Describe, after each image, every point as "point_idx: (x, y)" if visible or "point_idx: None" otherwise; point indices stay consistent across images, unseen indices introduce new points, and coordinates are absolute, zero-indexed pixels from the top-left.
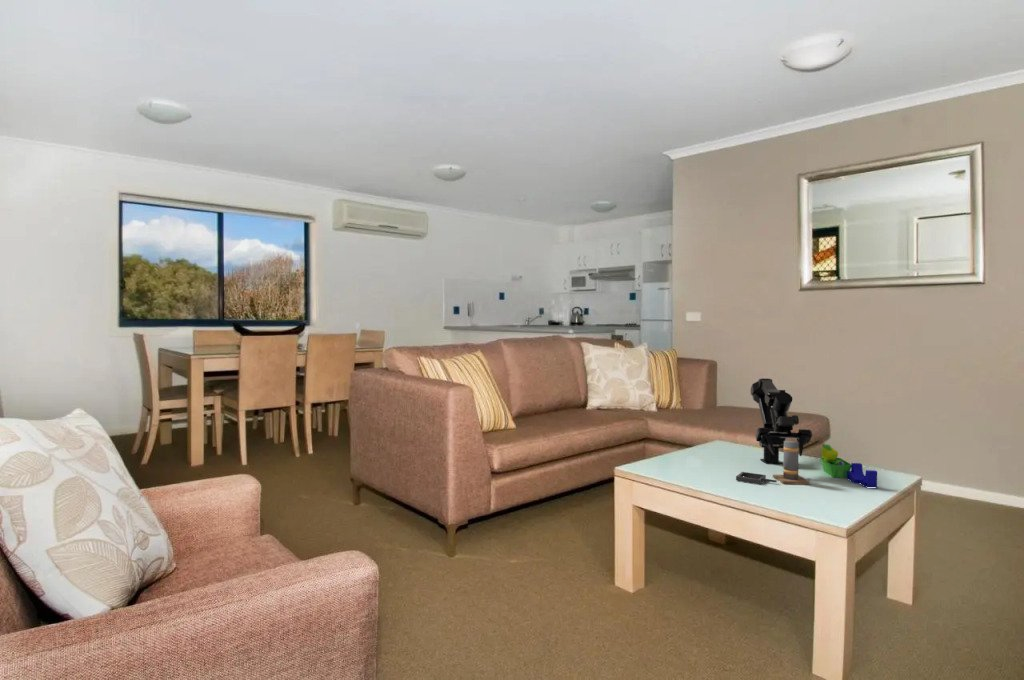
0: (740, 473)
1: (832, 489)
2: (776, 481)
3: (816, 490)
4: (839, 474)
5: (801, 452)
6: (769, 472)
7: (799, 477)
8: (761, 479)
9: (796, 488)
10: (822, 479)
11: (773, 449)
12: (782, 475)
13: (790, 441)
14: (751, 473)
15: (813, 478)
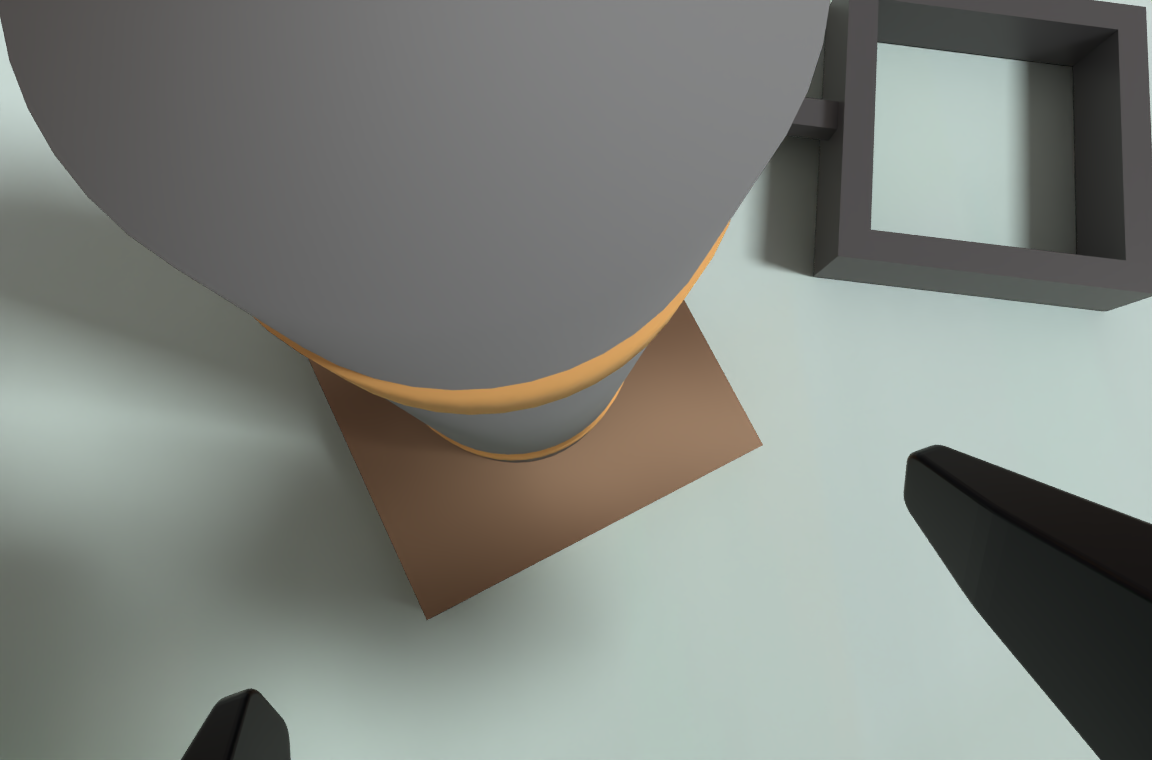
0: (1145, 178)
1: (23, 190)
2: None
3: None
4: None
5: (197, 753)
6: (836, 729)
7: (402, 456)
8: (845, 25)
9: None
10: (95, 691)
11: (1024, 507)
12: (634, 454)
13: (472, 60)
14: (1023, 249)
15: (220, 684)
